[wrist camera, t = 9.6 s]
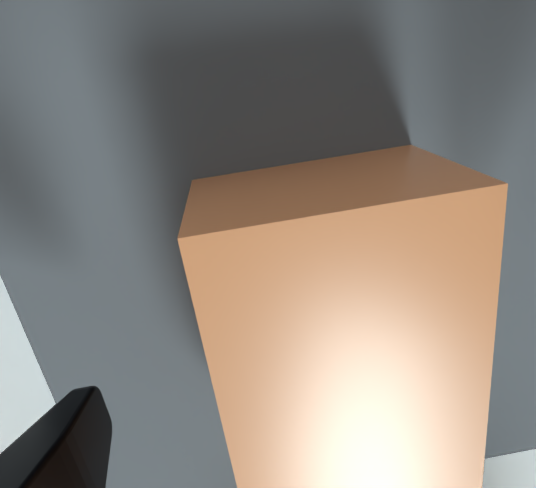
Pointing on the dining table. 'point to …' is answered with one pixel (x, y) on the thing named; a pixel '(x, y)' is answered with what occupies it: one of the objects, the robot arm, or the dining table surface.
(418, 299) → the clay brick
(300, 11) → the slate mat
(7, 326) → the dining table surface
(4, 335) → the dining table surface
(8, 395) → the dining table surface
